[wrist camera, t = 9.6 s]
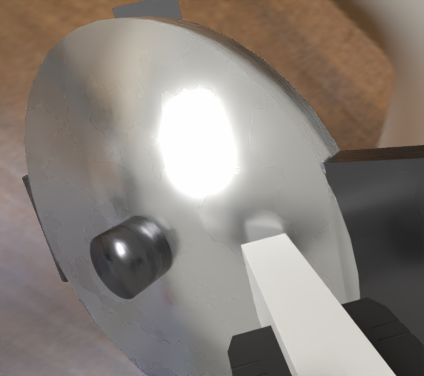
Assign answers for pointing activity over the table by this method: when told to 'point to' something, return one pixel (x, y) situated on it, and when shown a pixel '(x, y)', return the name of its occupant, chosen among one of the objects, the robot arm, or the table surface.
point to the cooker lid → (204, 190)
